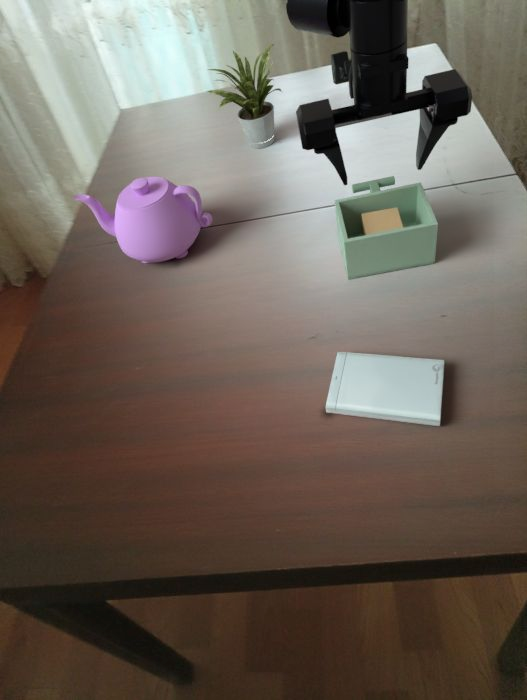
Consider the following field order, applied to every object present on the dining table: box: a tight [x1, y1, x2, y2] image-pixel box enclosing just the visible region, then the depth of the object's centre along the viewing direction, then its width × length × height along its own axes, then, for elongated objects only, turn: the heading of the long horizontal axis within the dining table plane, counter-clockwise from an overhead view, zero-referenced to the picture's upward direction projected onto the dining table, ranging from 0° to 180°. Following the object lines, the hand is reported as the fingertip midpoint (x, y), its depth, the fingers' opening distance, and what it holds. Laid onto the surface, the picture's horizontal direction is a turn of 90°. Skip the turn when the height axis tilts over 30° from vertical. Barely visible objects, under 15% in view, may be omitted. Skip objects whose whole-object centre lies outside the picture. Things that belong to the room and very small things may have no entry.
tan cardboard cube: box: [361, 207, 403, 236], centre depth 70 cm, size 5×5×4 cm
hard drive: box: [325, 351, 446, 427], centre depth 57 cm, size 2×8×12 cm
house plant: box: [206, 43, 283, 150], centre depth 93 cm, size 14×14×16 cm
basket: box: [334, 175, 439, 280], centre depth 70 cm, size 13×12×7 cm
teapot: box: [73, 176, 213, 264], centre depth 80 cm, size 20×14×12 cm
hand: (381, 175), depth 63 cm, fingers open, 9 cm apart
